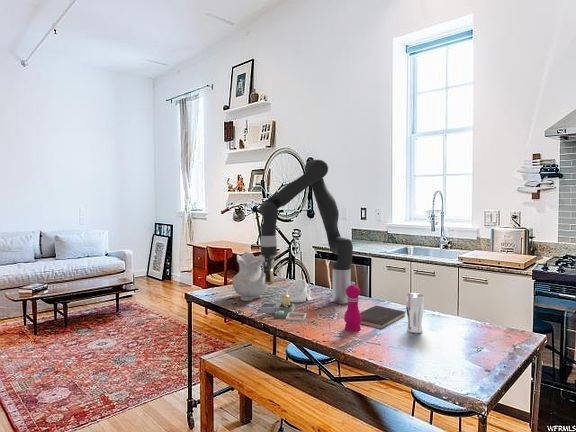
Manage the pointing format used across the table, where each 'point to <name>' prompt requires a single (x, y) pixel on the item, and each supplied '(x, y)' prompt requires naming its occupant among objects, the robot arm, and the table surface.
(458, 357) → the table surface
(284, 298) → the billet
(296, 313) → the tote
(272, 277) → the billet
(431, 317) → the table surface
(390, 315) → the hardcover book
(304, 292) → the skull bowl
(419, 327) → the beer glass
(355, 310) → the pepper mill
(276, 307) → the tray
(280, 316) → the console
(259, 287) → the ceramic pitcher
